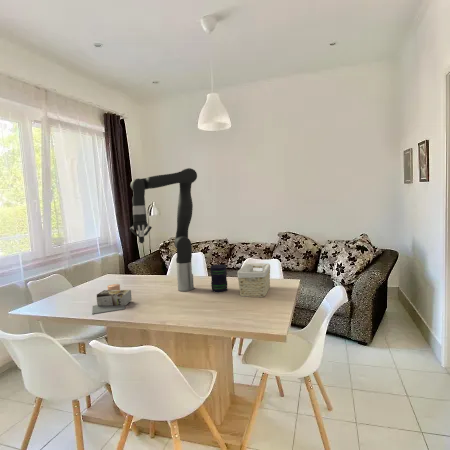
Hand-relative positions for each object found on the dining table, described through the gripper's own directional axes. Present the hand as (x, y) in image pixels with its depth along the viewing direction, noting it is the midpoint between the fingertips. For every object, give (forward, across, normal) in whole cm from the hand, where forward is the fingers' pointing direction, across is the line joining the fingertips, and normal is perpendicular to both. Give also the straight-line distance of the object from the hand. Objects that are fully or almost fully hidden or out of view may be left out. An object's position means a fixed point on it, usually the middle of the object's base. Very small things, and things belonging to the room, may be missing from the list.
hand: (141, 243), depth 191 cm
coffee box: (+28, +10, +10) cm, 32 cm away
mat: (+32, +21, +12) cm, 40 cm away
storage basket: (+32, -60, +25) cm, 73 cm away
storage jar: (+32, -43, +11) cm, 55 cm away
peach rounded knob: (+32, +17, -8) cm, 37 cm away
